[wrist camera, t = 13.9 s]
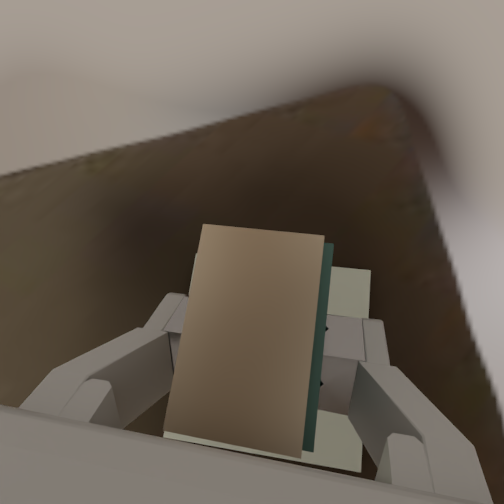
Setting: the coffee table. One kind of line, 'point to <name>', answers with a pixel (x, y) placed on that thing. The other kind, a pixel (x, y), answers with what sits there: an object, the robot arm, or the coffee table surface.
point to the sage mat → (328, 424)
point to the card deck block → (253, 340)
